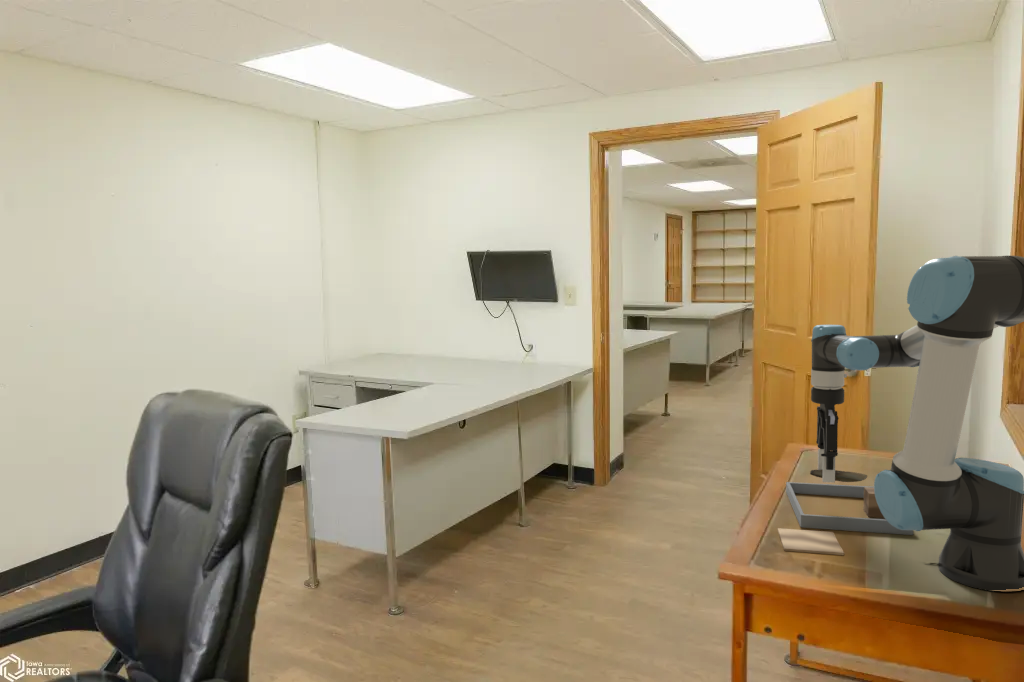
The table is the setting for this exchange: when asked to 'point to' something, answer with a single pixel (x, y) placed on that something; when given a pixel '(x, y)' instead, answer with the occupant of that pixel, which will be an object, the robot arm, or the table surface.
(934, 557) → the table surface
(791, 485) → the parts tray
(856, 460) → the table surface
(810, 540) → the cork pad
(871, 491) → the walnut block
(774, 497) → the table surface
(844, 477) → the stone
